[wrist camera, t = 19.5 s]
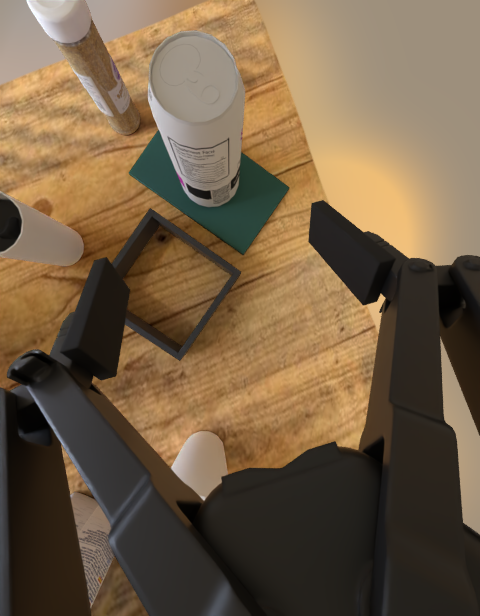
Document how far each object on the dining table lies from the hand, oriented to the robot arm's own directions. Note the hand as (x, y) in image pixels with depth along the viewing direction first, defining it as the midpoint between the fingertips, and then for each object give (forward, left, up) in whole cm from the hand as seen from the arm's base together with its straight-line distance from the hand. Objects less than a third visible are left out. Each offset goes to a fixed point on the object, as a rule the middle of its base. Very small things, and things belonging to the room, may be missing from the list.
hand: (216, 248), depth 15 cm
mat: (-10, +11, -19) cm, 24 cm away
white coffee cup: (-22, -9, -19) cm, 30 cm away
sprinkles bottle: (-24, +11, -19) cm, 33 cm away
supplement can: (-9, +10, -19) cm, 23 cm away
